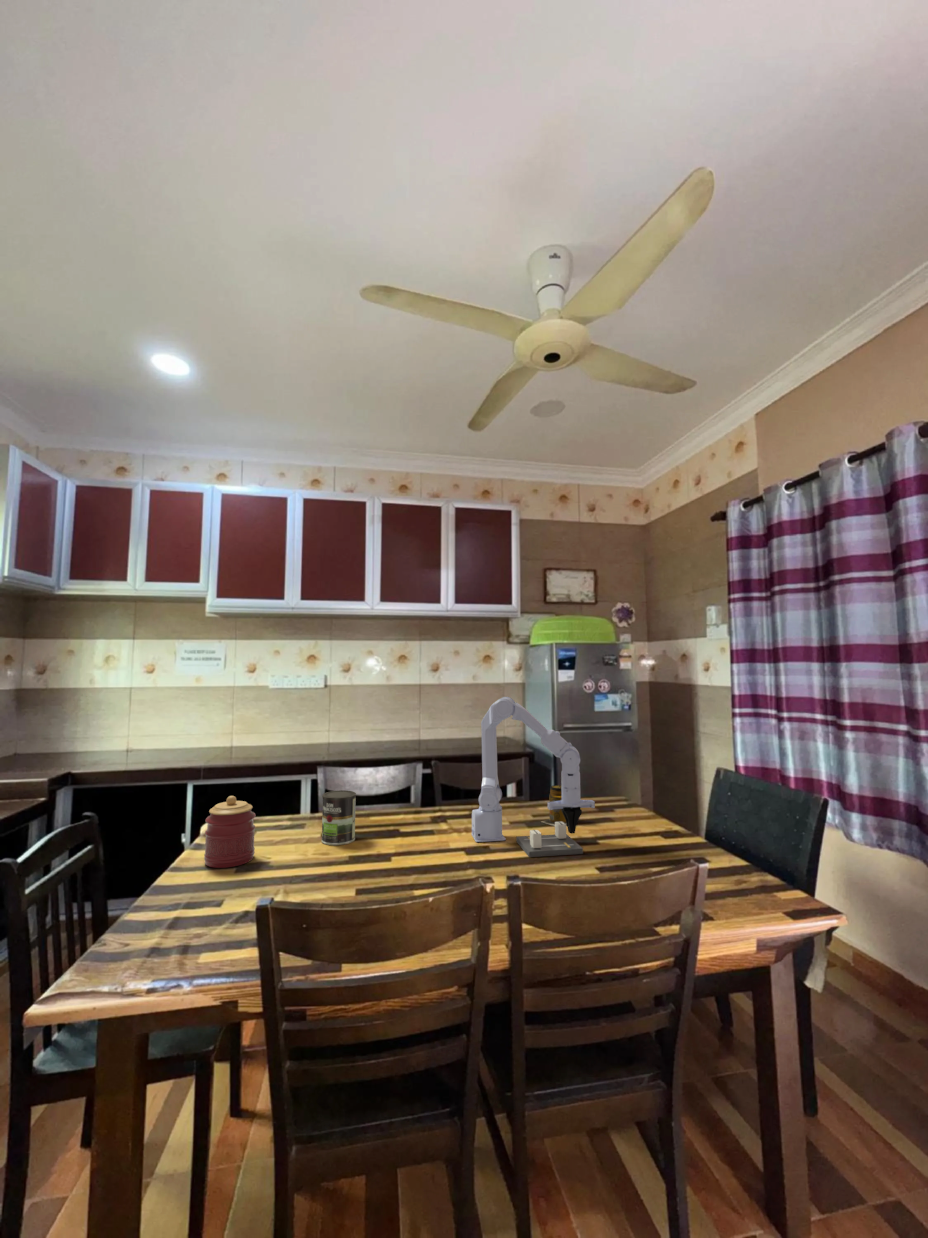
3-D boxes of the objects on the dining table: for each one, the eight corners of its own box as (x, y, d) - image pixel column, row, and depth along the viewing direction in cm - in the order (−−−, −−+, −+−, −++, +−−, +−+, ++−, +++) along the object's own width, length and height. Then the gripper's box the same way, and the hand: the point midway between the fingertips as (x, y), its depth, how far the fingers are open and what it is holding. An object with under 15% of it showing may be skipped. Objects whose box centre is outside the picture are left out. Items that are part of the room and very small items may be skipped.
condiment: (572, 822, 191) (571, 786, 192) (557, 827, 185) (557, 790, 186) (555, 818, 197) (554, 783, 198) (540, 822, 191) (540, 787, 192)
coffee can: (343, 847, 166) (343, 799, 167) (314, 843, 169) (315, 796, 171) (361, 837, 175) (362, 791, 176) (334, 833, 179) (335, 789, 180)
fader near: (533, 848, 159) (533, 833, 159) (530, 844, 162) (529, 830, 162) (541, 847, 159) (541, 833, 159) (537, 844, 162) (537, 829, 163)
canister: (243, 849, 164) (244, 788, 165) (262, 860, 155) (264, 796, 156) (196, 860, 155) (199, 796, 156) (214, 873, 146) (216, 804, 147)
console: (529, 857, 156) (529, 851, 157) (516, 841, 170) (516, 836, 170) (583, 854, 159) (582, 848, 159) (566, 838, 173) (566, 833, 173)
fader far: (558, 838, 167) (558, 824, 167) (555, 835, 171) (554, 821, 171) (566, 838, 168) (566, 824, 168) (562, 834, 171) (562, 821, 171)
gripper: (552, 791, 166) (553, 837, 165) (598, 789, 168) (599, 835, 167) (545, 786, 173) (545, 830, 172) (589, 784, 175) (590, 828, 174)
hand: (571, 832), depth 170 cm, fingers closed
